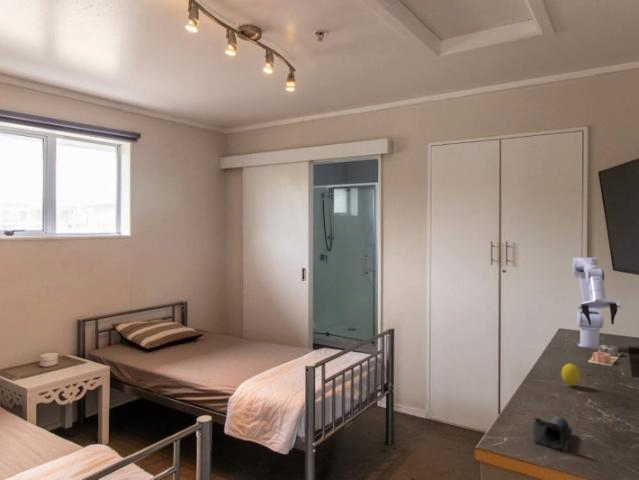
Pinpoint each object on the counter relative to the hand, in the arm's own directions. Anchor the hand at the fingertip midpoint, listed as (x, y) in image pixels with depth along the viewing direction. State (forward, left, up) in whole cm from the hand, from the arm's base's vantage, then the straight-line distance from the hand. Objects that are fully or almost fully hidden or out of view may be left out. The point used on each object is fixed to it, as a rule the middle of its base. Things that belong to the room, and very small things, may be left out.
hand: (601, 323), depth 181 cm
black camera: (+79, -24, -17) cm, 84 cm away
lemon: (+34, -15, -16) cm, 40 cm away
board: (-4, +2, -16) cm, 17 cm away
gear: (+2, 0, -15) cm, 15 cm away
